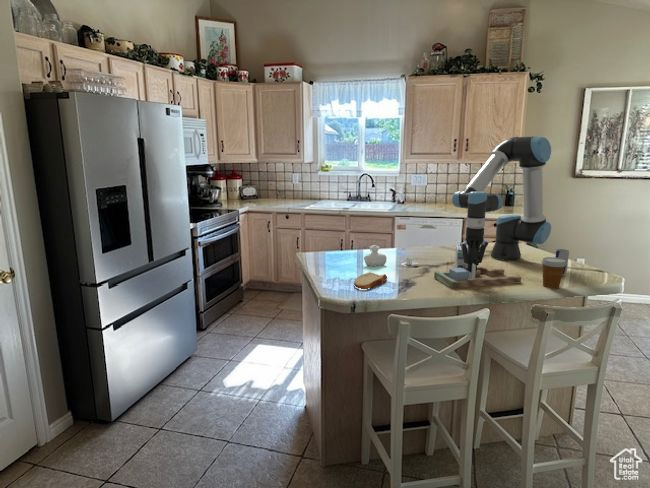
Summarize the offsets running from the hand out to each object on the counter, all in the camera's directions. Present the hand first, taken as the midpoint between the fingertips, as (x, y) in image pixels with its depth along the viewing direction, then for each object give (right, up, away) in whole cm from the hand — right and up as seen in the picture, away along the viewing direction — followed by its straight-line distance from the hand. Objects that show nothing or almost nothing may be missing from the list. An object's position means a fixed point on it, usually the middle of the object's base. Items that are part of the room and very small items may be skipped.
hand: (471, 278), depth 196 cm
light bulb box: (+2, +3, +21) cm, 21 cm away
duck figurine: (-41, +5, +28) cm, 49 cm away
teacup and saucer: (-24, +4, +25) cm, 35 cm away
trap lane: (+3, -1, +3) cm, 4 cm away
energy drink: (+44, +1, +9) cm, 45 cm away
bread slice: (-46, -3, -2) cm, 46 cm away
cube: (-7, -2, -2) cm, 7 cm away
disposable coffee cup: (+32, -3, -7) cm, 33 cm away
